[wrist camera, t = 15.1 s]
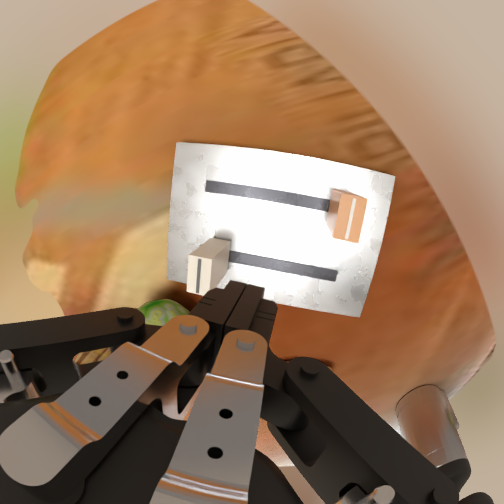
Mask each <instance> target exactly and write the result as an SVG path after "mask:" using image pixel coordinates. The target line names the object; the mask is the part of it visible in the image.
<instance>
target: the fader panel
mask: <svg viewBox="0 0 504 504" xmlns="http://www.w3.org/2000/svg"><path fill="white" fill-rule="evenodd" d="M394 181H395V176H392V175H389V174H385V173H381V172H377V171H373V170H369V169H365V168H361V167H356V166H352V165H347V164H343V163H338V162H333V161H328V160H323V159H318V158H312V157H307V156H301V155H295V154H289V153H282V152H276V151H269V150H261V149H253V148H244V147H235V146H225V145H214V144H200V143H183V142H177V144H176V152H175V161H174V170H173V180H172V190H171V202H170V216H169V232H168V255H167V279H169V280H173V281H177V282H181V283H186V284H187V275H188V257H189V254H190V253H192V252H193V251H194V250H196V249H197V248H198V247H200V246H201V245H202V244H204V243H205V242H206V241H208V240H209V239H210V238H216V239H221V240H227V241H231V243H230V251H229V260H228V269H227V273H226V275H225V276H224V277H223V279H222V280H221V281H220V283H219V284H218V285H217V288H221V289H224V288H225V287H226V285H227V284H228V283H229V281H230V280H234V281H239V282H243V283H247V285H248V284H252V285H256V286H260V287H265V291H264V297H263V299H267V300H271V301H274V302H275V303H279V304H284V305H290V306H295V307H300V308H306V309H312V310H317V311H323V312H329V313H335V314H341V315H347V316H354V317H360V315H361V312H362V309H363V306H364V303H365V300H366V297H367V293H368V290H369V287H370V284H371V280H372V277H373V273H374V270H375V266H376V263H377V259H378V255H379V251H380V247H381V243H382V239H383V235H384V231H385V227H386V222H387V217H388V213H389V208H390V203H391V198H392V192H393V187H394ZM332 189H337V190H342V191H347V192H351V193H355V194H357V195H360V196H362V197H364V198H367V199H368V201H367V206H366V211H365V216H364V221H363V225H362V230H361V234H360V239H359V243H353V242H348V241H343V240H338V239H333V238H332V236H331V234H330V231H329V229H328V227H327V225H326V221H327V216H328V211H329V205H330V200H331V194H332Z"/></svg>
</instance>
